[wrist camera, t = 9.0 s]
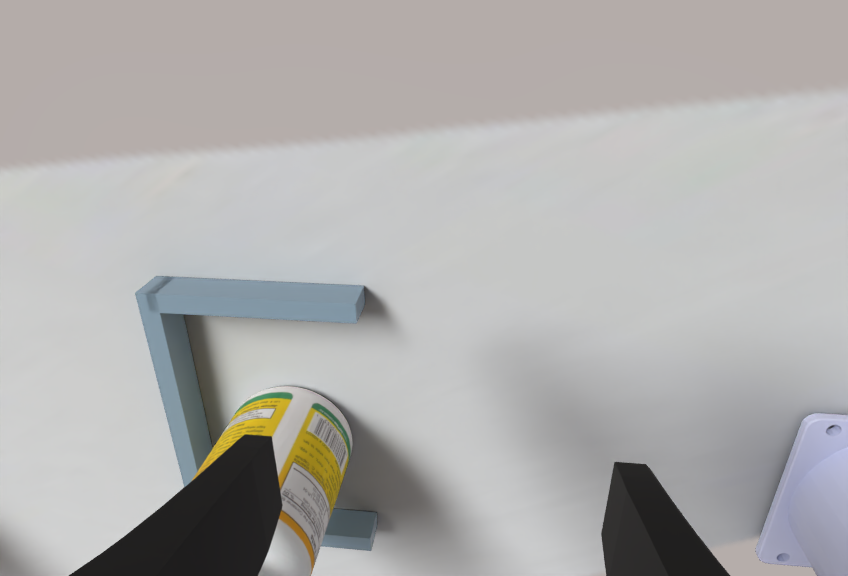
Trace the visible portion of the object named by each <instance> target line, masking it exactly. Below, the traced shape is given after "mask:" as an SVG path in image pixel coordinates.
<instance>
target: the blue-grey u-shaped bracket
mask: <svg viewBox="0 0 848 576" xmlns="http://www.w3.org/2000/svg"><path fill="white" fill-rule="evenodd" d="M135 295H136V299H137V303H138V307H139V310H140V314H141V318H142V322H143V326H144V330H145V334H146V338H147V342H148V346H149V350H150V354H151V358H152V362H153V365H154V369H155V373H156V377H157V381H158V385H159V389H160V393H161V397H162V401H163V405H164V409H165V413H166V417H167V420H168V424H169V428H170V432H171V436H172V440H173V444H174V448H175V452H176V456H177V460H178V464H179V468H180V471H181V475H182V479H183V483H184V487H185V486H187V485H188V484H189V483H190V482H191V481H192V479H193V478H194V476H195V475H196V473H197V472H198V470H199V469H200V467H201V466H202V464H203V463H204V461H205V460H206V458H207V456H208V455H209V453H210V452H211V450H212V444H211V439H210V435H209V430H208V426H207V421H206V416H205V412H204V407H203V402H202V398H201V393H200V389H199V384H198V379H197V375H196V370H195V366H194V361H193V356H192V352H191V347H190V343H189V338H188V333H187V329H186V324H185V319H184V315H183V314H189V315H208V316H227V317H245V318H264V319H283V320H301V321H320V322H339V323H357V321H358V319H359V317H360V315H361V312H362V310H363V308H364V305H365V296H364V286H357V285H335V284H314V283H293V282H271V281H250V280H228V279H207V278H186V277H164V276H156V277H154V278H153V279H152V280H151V281H149V282H148V283H147V284H146V285H145V286H143V287H142V288H141V289H140V290H138V291H137V292H136V293H135ZM376 528H377V512H366V511H354V510H343V509H333V511H332V514H331V517H330V519H329V522H328V526H327V528H326V532H325V535H324V538H323V541H322V544H321V546H325V547H335V548H346V549H357V550H367V551H371V550H372V545H373V541H374V537H375V532H376Z"/></svg>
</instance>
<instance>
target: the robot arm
mask: <svg viewBox="0 0 848 576" xmlns="http://www.w3.org/2000/svg"><path fill="white" fill-rule="evenodd" d="M832 425H835V426H834V427H833V428H831V429H827V428H828V427H830V426H832ZM282 506H283V504H282V498H281V492H280V486H279V479H278V473H277V467H276V460H275V454H274V448H273V441H272V436H262V435H249V434H244V435H243V436H242V437H241V438H240V439H239V440H237V441H236V442H235V443H234V444H233V445H232V446H231V447H229V448H228V449H227V450H226V451H225V452H224V453H223V454H222V455H220V456H219V457H218V458H217V459H216V460H215V461H214V462H213V463H211V464H210V465H209V466H208V467H207V468H206V469H205V470H204V471H203V472H201V473H200V474H199V475H198V476H197V477H196V478H195V479H194V480H192V481H191V482H190V483H189V484H188V485H187V486H185V487H184V488H183V489H182V490H181V491H180V492H178V493H177V494H176V495H175V496H174V497H173V498H171V499H170V500H169V501H168V502H167V503H166V504H164V505H163V506H162V507H161V508H160V509H158V510H157V511H156V512H155V513H153V514H152V515H151V516H150V517H148V518H147V519H146V520H145V521H143V522H142V523H141V524H139V525H138V526H137V527H136V528H134V529H133V530H132V531H131V532H129V533H128V534H127V535H126V536H124V537H123V538H122V539H120V540H119V541H118V542H116V543H115V544H114V545H112V546H111V547H110V548H108V549H107V550H105V551H104V552H103V553H101V554H100V555H98V556H97V557H95V558H94V559H93V560H91V561H90V562H88V563H87V564H85V565H84V566H82V567H81V568H79V569H78V570H76V571H75V572H74V573H72V574H71V575H69V576H258V574H259V572H260V570H261V568H262V565H263V563H264V561H265V558H266V556H267V554H268V551H269V548H270V545H271V542H272V539H273V536H274V533H275V530H276V526H277V523H278V520H279V516H280V513H281V510H282ZM601 534H602V543H603V552H604V560H605V568H606V576H730V575H729V574H728V573H727V571H726V570H725V569H724V568H723V566H722V565H721V564H720V563H719V562H718V560H717V559H716V558H715V557H714V556H713V554H712V553H711V551H710V550H709V549H708V548H707V546H706V545H705V544H704V542H703V541H702V540H701V539H700V537H699V536H698V535H697V534H696V532H695V531H694V530H693V528H692V527H691V526H690V524H689V523H688V522H687V520H686V519H685V518H684V516H683V515H682V513H681V512H680V511H679V509H678V508H677V507H676V505H675V504H674V502H673V501H672V500H671V498H670V497H669V495H668V494H667V493H666V491H665V490H664V488H663V487H662V485H661V484H660V483H659V481H658V480H657V478H656V477H655V475H654V474H653V472H652V471H651V469H650V468H649V467H648V466H647V465H646V464H635V463H622V462H615V463H614V468H613V473H612V479H611V484H610V490H609V495H608V501H607V506H606V512H605V517H604V522H603V528H602V533H601ZM756 554H757V556H758V558H759V560H760V561H762V562H764V563H768V564H780V565H791V566H802V567H812V568H813V569H814V571H815V573H816V575H817V576H848V415H838V414H823V413H816V414H811V415H809V416H807V417H806V418H804V420H803V421H802V423H801V425H800V428H799V431H798V434H797V436H796V439H795V442H794V445H793V447H792V450H791V453H790V456H789V458H788V461H787V464H786V467H785V469H784V472H783V475H782V478H781V480H780V483H779V486H778V489H777V491H776V494H775V497H774V500H773V502H772V505H771V508H770V511H769V513H768V516H767V519H766V522H765V524H764V527H763V530H762V533H761V535H760V538H759V541H758V544H757V547H756Z"/></svg>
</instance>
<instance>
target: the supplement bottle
mask: <svg viewBox="0 0 848 576" xmlns="http://www.w3.org/2000/svg"><path fill="white" fill-rule="evenodd" d="M244 434H249V435H262V436H272V441H273V448H274V454H275V460H276V467H277V473H278V479H279V486H280V492H281V498H282V504H283V506H282V510H281V513H280V516H279V520H278V523H277V526H276V530H275V533H274V536H273V539H272V542H271V545H270V548H269V551H268V554H267V556H266V558H265V561H264V563H263V565H262V568H261V570H260V572H259V574H258V576H311V574H312V571H313V568H314V565H315V562H316V559H317V556H318V553H319V550H320V547H321V544H322V541H323V538H324V535H325V532H326V528H327V526H328V522H329V519H330V517H331V514H332V511H333V508H334V505H335V502H336V499H337V496H338V493H339V490H340V487H341V484H342V481H343V478H344V475H345V472H346V469H347V466H348V462H349V460H350V457H351V453H352V446H353V441H352V435H351V431H350V427H349V425H348V422H347V420H346V419H345V417H344V416H343V414H342V413H341V412H340V410H339V409H338V408H337V407H336V406H335V405H334V404H332V403H331V402H330V401H329V400H327V399H326V398H324V397H323V396H321V395H319V394H317V393H315V392H313V391H310V390H307V389H303V388H299V387H293V386H280V387H274V388H269V389H265V390H262V391H259V392H257V393H255V394H253V395H252V396H250V397H249V398H248V399H247V400H246V401H244V403H243V404H242V405H241V406H240V408H239V409H238V410H237V412H236V413H235V415H234V416H233V418H232V420H231V421H230V423H229V424H228V426H227V427H226V429H225V430H224V432H223V433H222V435H221V437H220V438H219V440H218V441H217V443H216V444H215V446H214V447H213V449H212V450H211V452H210V453H209V455H208V456H207V458H206V460H205V461H204V463H203V464H202V466H201V467H200V469H199V470H198V472H197V473H196V475H195V476H194V478H193V479H192V480H194V479H195V478H196V477H197V476H198V475H199V474H200V473H201V472H203V471H204V470H205V469H206V468H207V467H208V466H209V465H210V464H211V463H213V462H214V461H215V460H216V459H217V458H218V457H219V456H220V455H222V454H223V453H224V452H225V451H226V450H227V449H228V448H229V447H231V446H232V445H233V444H234V443H235V442H236V441H237V440H239V439H240V438H241V437H242V436H243V435H244Z"/></svg>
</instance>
